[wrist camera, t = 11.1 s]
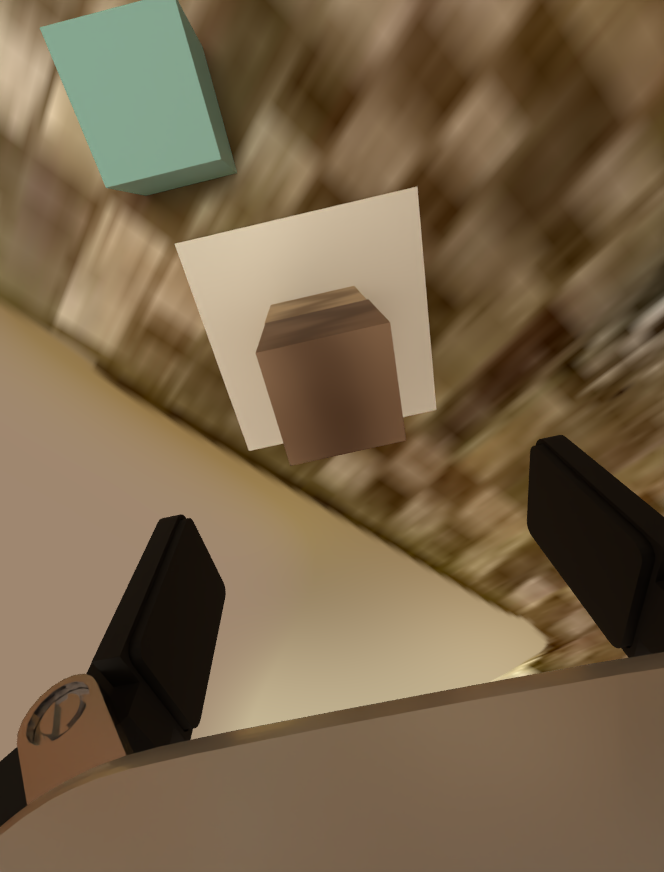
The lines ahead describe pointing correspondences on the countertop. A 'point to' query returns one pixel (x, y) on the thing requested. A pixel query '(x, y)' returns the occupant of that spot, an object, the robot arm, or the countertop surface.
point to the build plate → (312, 292)
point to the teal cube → (142, 96)
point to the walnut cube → (332, 381)
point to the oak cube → (314, 303)
